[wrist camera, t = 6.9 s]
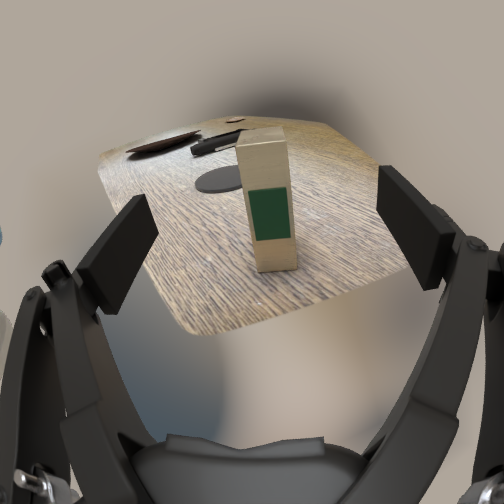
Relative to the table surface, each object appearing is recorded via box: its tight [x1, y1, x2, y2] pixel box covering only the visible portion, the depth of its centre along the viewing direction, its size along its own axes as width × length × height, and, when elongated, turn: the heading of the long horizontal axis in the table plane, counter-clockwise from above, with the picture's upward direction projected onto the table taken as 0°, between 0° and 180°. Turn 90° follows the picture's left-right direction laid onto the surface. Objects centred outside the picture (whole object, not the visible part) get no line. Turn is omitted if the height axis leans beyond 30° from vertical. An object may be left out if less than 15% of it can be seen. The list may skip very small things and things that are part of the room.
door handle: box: [190, 129, 253, 156], centre depth 73 cm, size 3×20×16 cm
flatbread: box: [226, 117, 244, 122], centre depth 106 cm, size 8×8×1 cm
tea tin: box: [235, 126, 297, 273], centre depth 26 cm, size 6×4×13 cm, turn 177°
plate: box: [126, 130, 201, 153], centre depth 87 cm, size 28×28×4 cm
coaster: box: [195, 165, 242, 193], centre depth 50 cm, size 12×12×1 cm
